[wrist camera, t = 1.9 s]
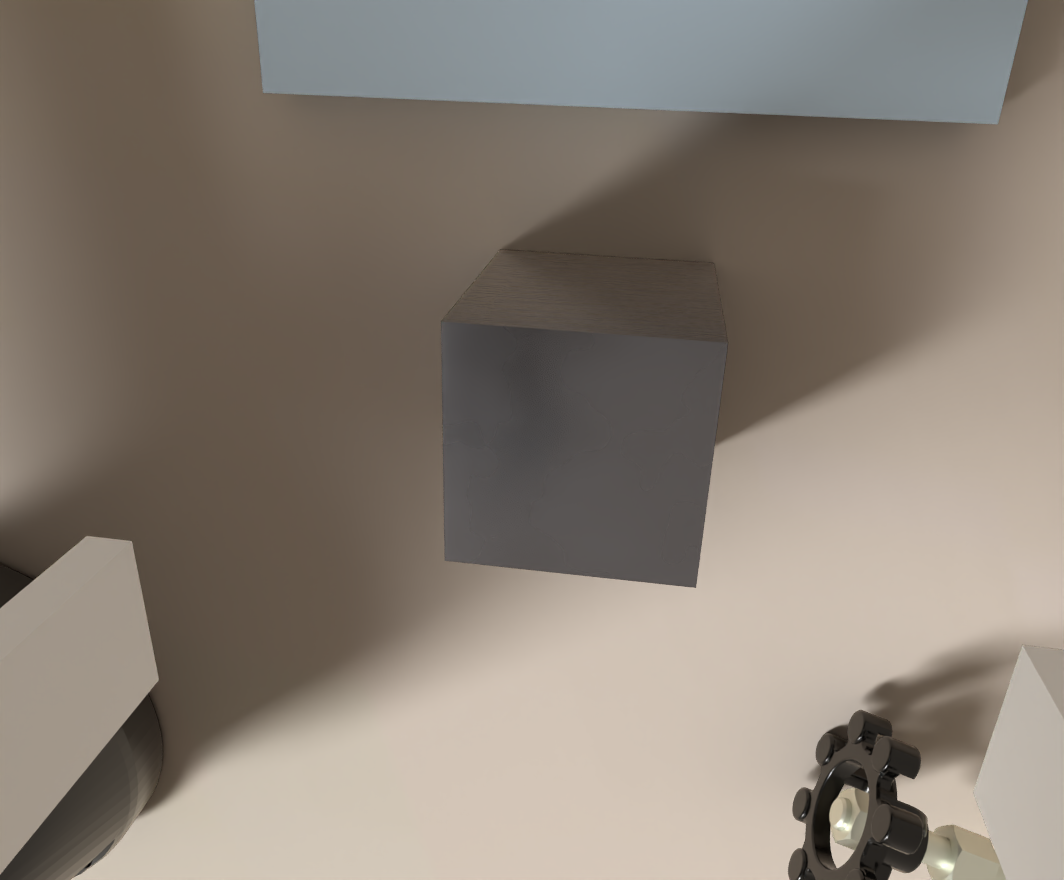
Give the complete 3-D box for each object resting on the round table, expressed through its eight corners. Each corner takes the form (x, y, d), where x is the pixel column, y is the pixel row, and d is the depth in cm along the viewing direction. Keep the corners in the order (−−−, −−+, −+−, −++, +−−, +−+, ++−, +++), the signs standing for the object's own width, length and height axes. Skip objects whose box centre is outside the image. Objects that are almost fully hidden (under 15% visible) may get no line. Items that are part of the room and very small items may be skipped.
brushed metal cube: (497, 440, 27) (444, 560, 21) (500, 249, 25) (441, 321, 18) (690, 457, 27) (695, 587, 20) (714, 263, 24) (727, 343, 18)
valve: (1198, 798, 29) (867, 668, 29) (1331, 992, 23) (917, 831, 23) (1077, 914, 32) (777, 797, 32) (1168, 1113, 26) (800, 970, 26)
